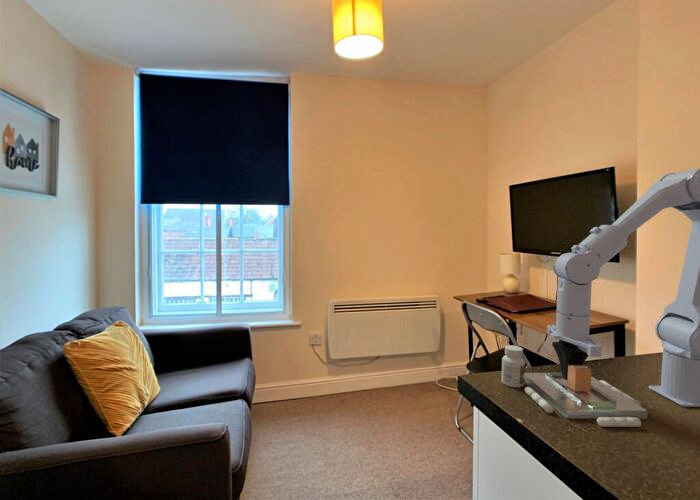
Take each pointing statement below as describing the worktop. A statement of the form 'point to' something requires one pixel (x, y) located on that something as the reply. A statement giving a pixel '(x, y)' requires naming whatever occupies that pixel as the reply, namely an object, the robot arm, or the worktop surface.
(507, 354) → the pill bottle
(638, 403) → the cable near base
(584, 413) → the breaker panel
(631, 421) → the rod
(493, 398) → the worktop surface
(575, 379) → the lever
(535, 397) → the rod
